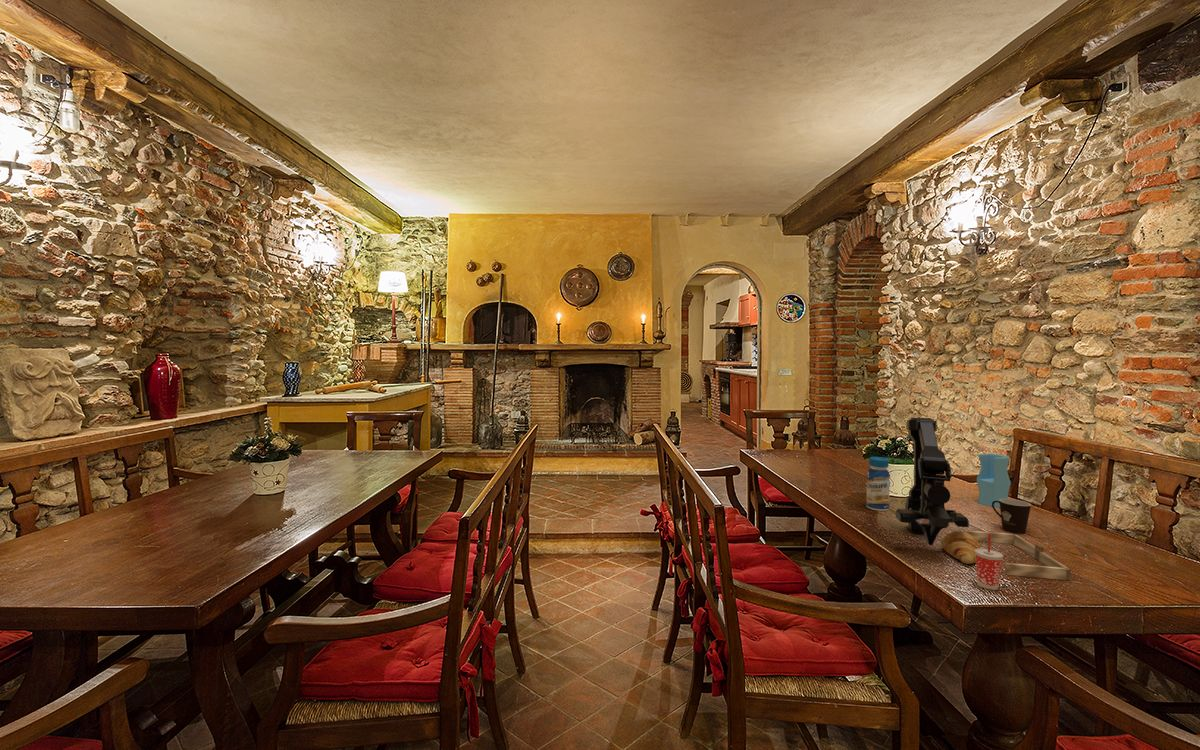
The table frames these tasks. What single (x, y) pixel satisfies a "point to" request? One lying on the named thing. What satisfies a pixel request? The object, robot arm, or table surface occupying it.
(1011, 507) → the coffee mug
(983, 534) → the frame
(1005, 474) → the vase
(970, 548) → the croissant
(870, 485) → the beverage bottle
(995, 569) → the beverage cup
